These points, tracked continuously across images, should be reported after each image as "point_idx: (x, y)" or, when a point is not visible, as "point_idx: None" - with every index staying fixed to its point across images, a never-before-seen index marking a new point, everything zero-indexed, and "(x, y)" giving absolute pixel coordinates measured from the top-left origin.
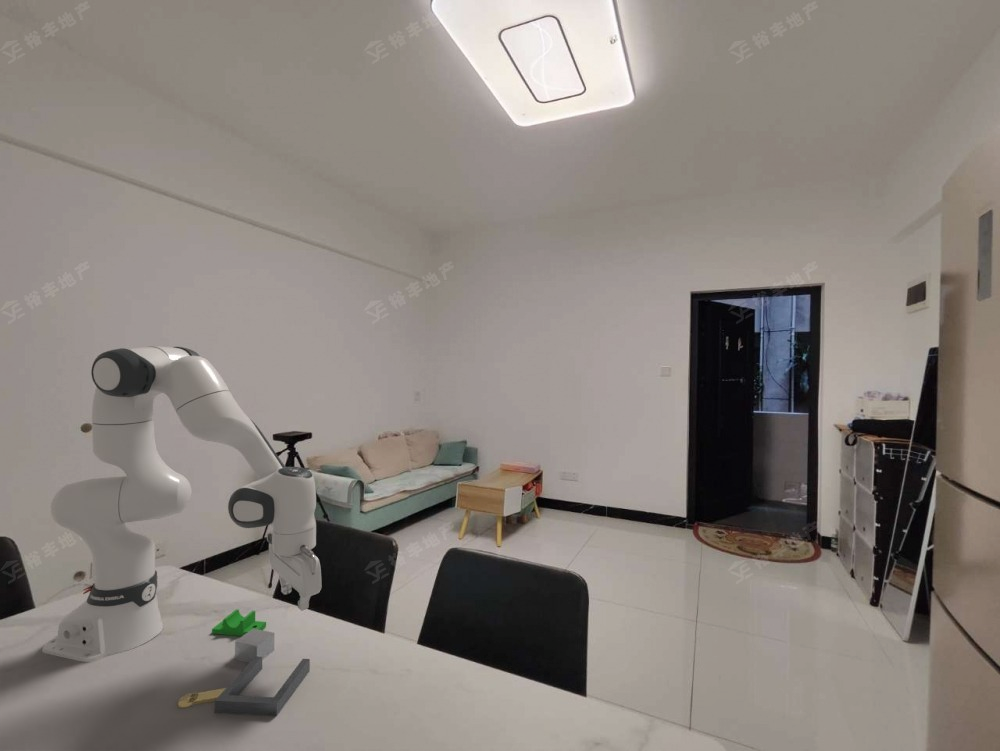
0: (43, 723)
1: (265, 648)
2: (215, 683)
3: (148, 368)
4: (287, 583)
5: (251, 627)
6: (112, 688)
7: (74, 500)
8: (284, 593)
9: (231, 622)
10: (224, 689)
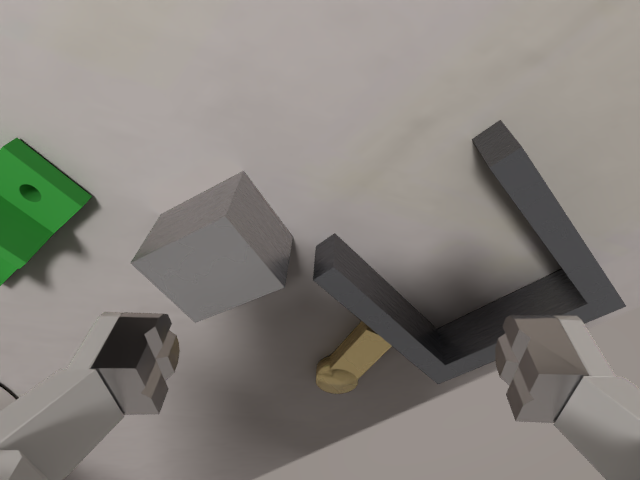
0: (212, 472)
1: (264, 231)
2: (296, 323)
3: None
4: (99, 395)
5: (33, 204)
6: (167, 425)
7: None
8: (177, 358)
9: None
10: (368, 334)
